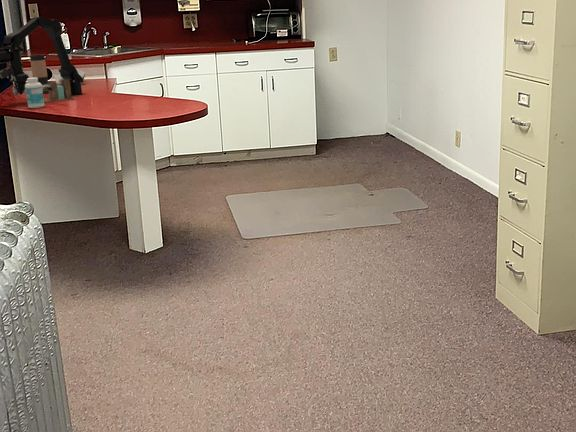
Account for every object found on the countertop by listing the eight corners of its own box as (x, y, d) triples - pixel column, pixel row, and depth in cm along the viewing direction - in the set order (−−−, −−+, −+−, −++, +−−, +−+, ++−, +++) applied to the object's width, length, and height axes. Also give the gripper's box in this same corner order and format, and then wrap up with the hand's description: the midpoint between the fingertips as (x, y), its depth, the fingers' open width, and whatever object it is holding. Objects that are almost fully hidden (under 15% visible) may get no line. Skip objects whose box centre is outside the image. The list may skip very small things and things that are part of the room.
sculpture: (87, 85, 439) (85, 68, 436) (53, 87, 434) (51, 70, 431) (85, 81, 462) (83, 65, 459) (53, 83, 457) (51, 67, 454)
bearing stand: (69, 97, 384) (66, 79, 381) (75, 98, 376) (72, 80, 373) (29, 101, 374) (26, 83, 371) (34, 103, 366) (32, 84, 363)
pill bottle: (27, 107, 354) (23, 78, 350) (43, 105, 356) (39, 76, 353) (28, 108, 347) (24, 79, 343) (45, 107, 350) (41, 78, 346)
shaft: (52, 90, 376) (51, 81, 375) (55, 91, 372) (53, 82, 371) (13, 95, 366) (12, 85, 365) (15, 95, 363) (14, 86, 361)
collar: (61, 97, 380) (59, 85, 378) (64, 98, 375) (63, 86, 373) (55, 97, 378) (53, 85, 376) (58, 98, 373) (57, 86, 371)
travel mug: (32, 94, 405) (26, 56, 399) (41, 92, 412) (36, 54, 406) (43, 94, 402) (38, 56, 396) (52, 92, 409) (47, 54, 403)
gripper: (-7, 62, 365) (-2, 94, 369) (2, 64, 350) (7, 97, 354) (17, 60, 371) (22, 91, 375) (26, 62, 355) (31, 95, 360)
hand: (20, 94), depth 366 cm, fingers closed on shaft, 3 cm apart
